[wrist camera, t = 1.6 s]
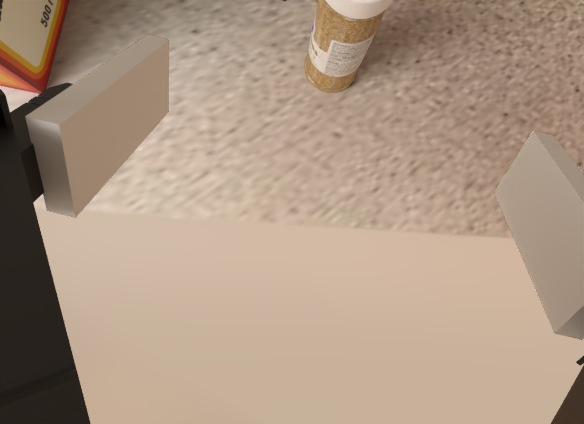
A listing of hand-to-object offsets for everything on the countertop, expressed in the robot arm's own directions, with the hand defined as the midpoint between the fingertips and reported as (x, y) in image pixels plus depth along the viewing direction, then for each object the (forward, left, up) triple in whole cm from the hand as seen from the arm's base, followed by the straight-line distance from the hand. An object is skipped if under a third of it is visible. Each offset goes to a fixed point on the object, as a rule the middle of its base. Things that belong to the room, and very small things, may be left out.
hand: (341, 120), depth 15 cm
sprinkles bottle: (-2, +11, -20) cm, 22 cm away
